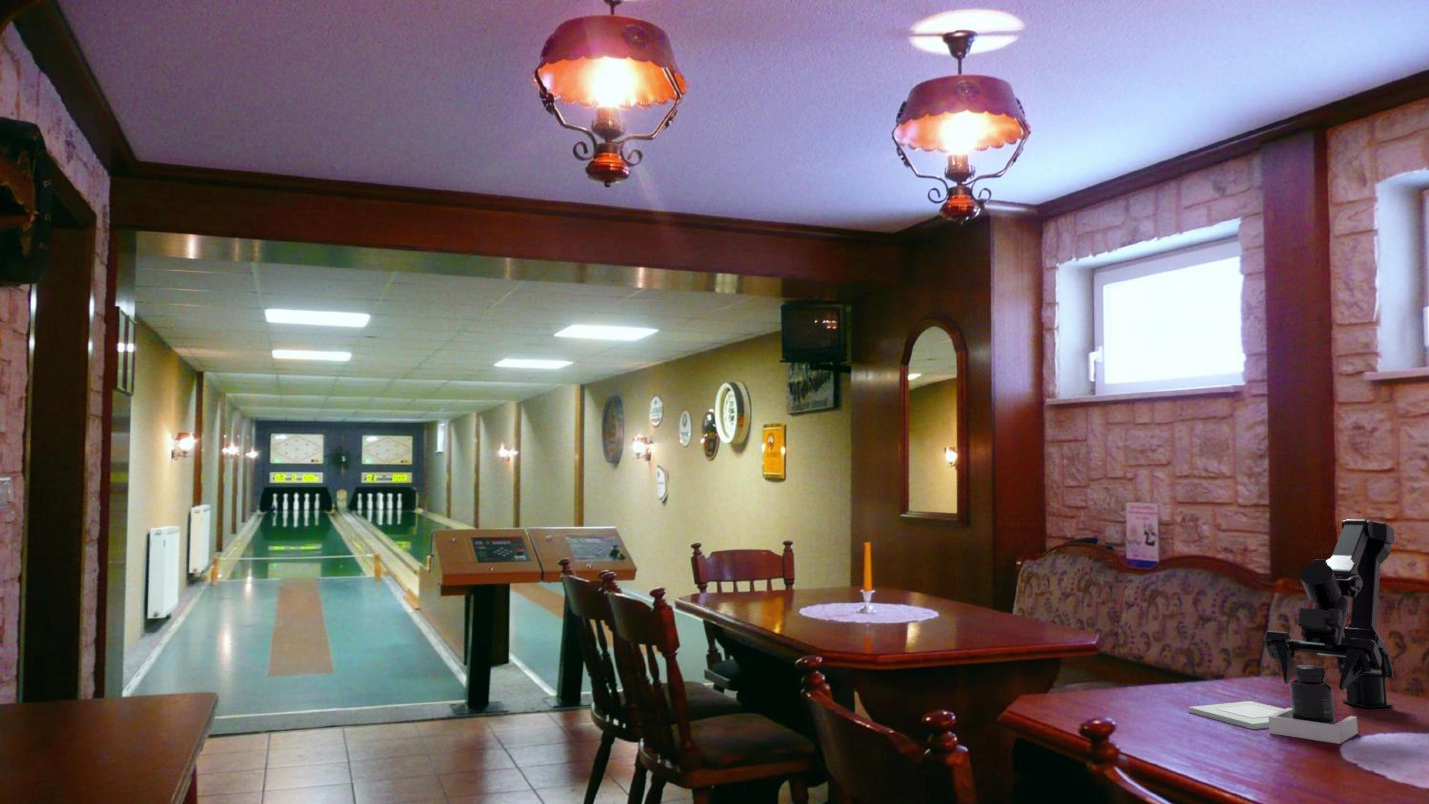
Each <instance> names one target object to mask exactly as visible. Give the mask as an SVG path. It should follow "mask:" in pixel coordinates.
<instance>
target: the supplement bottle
mask: <svg viewBox="0 0 1429 804" xmlns="http://www.w3.org/2000/svg"><path fill="white" fill-rule="evenodd" d="M1294 676H1295V677H1296V679H1295V680H1293V681H1292V682H1291V683H1290V685H1289V687H1290V689H1289V690H1290V701H1291V708H1292V716H1293V719H1298V720H1305V721H1312V722H1320V723H1327V724H1336V715H1335V704H1334V703H1335V702H1334V701H1335V700H1334V690H1333V687H1332V685H1331V684H1330V683H1329V682H1327V681H1325V679H1326V670H1325V667H1324V666H1320V665H1313V664H1312V665H1311V664H1298V665H1294Z"/></svg>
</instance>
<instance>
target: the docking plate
mask: <svg viewBox="0 0 1429 804" xmlns="http://www.w3.org/2000/svg"><path fill="white" fill-rule="evenodd" d="M1284 709H1285V708H1283V707H1278V706H1273V705H1269V704H1265V703H1261V702H1257V701H1252V700H1248V701H1247V700H1246V701H1238V702H1228V703H1227V702H1226V703H1216V704H1208V705H1207V704H1206V705H1196V706H1188V713H1190V714H1195V715H1198V716H1202V717H1205V718H1208V719H1209V718H1210V719H1213V720H1217V721H1220V722H1224V723H1227V724H1232V725H1236V726H1240V727H1243V728H1247V729H1249V730H1260V729H1269V716H1271V715H1273V714H1275V713H1277V712H1280V711H1282V710H1284Z"/></svg>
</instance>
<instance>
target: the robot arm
mask: <svg viewBox="0 0 1429 804" xmlns="http://www.w3.org/2000/svg"><path fill="white" fill-rule="evenodd" d="M1394 542H1395V530H1394V529H1393V527H1392V526H1390V525H1388V524H1387V523H1386V522H1385V521H1383V522H1379V521H1373V520H1370V519H1367V518H1346V519H1343V520H1342V521H1341V532H1340V535H1339V537H1338V540H1337V542H1336V544H1335V547H1334V550H1333V553H1332V555H1331V556H1330V558H1328V559H1315V558H1314V561H1313V563H1310V564H1307V565H1305V566H1304V567H1303V568H1302V569H1301V570H1299V572H1298V573H1299V575H1298V576H1299V579H1300V581H1301V583H1302V586H1303V588H1304V591H1305V592H1306V594H1307V598H1308V600H1309V601H1311V602H1313V606H1312V608H1310V607H1309V608H1308V607H1307V608H1305V607H1300V608H1298V615H1297V626H1299V627H1300V628H1301V630H1300V634H1301V637H1303V638H1305V640H1303V639H1302V640H1301V639H1292V638H1291V636H1290V633H1289V632H1287V631H1286V632H1285V631H1274V630H1268V631H1266V632H1265V633H1264V636H1263V638H1262V639H1263V643H1264V645H1265V648H1266V651H1267V652H1268V654H1269V657H1270V658H1271V659H1273V660H1275V661H1276V662H1277V663H1280V667H1281V672H1282V677H1283V682H1284V684H1286V685H1288V684H1289V682H1290V680H1291V677H1292V672H1293V669H1294V666H1295V661H1294V658H1295V655H1296V653H1295V652H1299V653H1300V652H1301V653H1310V654H1311V653H1312V654H1317V655H1322V656H1329V657H1336V661H1337V667H1338V670H1339V671H1338V672H1339V674H1341V675H1340V678H1339V682H1338V683H1339V685H1338V688H1339V690H1340V691H1344V690H1346V699H1342V703H1345V704H1348V705H1352V706H1357V707H1359V708H1364V709H1375V708H1376V709H1379V708H1392V707H1394V704H1393V703H1390V702H1389V703H1388V702H1387V689H1386V688H1387V687H1386V679H1388V678H1389V679H1390V678H1394V669H1393V663H1392V661H1391V658H1390V655H1389V654H1388V651H1387V649H1386V648H1385V646H1386V645H1385V642H1384V641H1383V639H1382V637H1381V636H1380V634H1379V632H1378V631H1377V627H1378V625H1377V624H1378V623H1377V622H1378V609H1379V607H1378V605H1379V592H1380V579H1381V578H1380V577H1381V566H1382V565H1381V564H1383V563H1384V562H1385V560H1386V559H1387V558H1388V557H1389V556H1391V550H1392V545H1393V544H1394ZM1347 598H1352V599H1351V600H1352V601H1351V610H1350V611H1351V613H1349V608H1350V607H1349V606H1350V603H1349V601H1348V600H1347ZM1349 615H1350V623H1349V624H1348V625H1347V626H1346V627H1345V625H1346V621H1347V618H1348V617H1349Z"/></svg>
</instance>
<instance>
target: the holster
mask: <svg viewBox="0 0 1429 804" xmlns="http://www.w3.org/2000/svg"><path fill="white" fill-rule="evenodd" d="M1283 709H1284V710H1282V711H1280V712H1277V713H1275V714H1273V715H1271V716H1269V728H1268V731H1269V734H1273V735H1279V736H1285V737H1286V736H1287V737H1294V738H1299V739H1305V740H1312V741H1317V742H1325V743H1331V744H1338V745H1340V744H1342V743H1344V742H1345V741H1347V740H1349V739H1350V738H1353V737H1354V736H1356V735H1357V734H1358V731H1359V730H1358V720H1357V719H1358V718H1357V716H1353V715H1350V716H1348V717H1345V718H1343V719H1342V720H1341V721H1338V722H1335V724H1327V723H1320V722H1312V721H1305V720H1298V719H1293V716H1292V707H1287V708H1283Z"/></svg>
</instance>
